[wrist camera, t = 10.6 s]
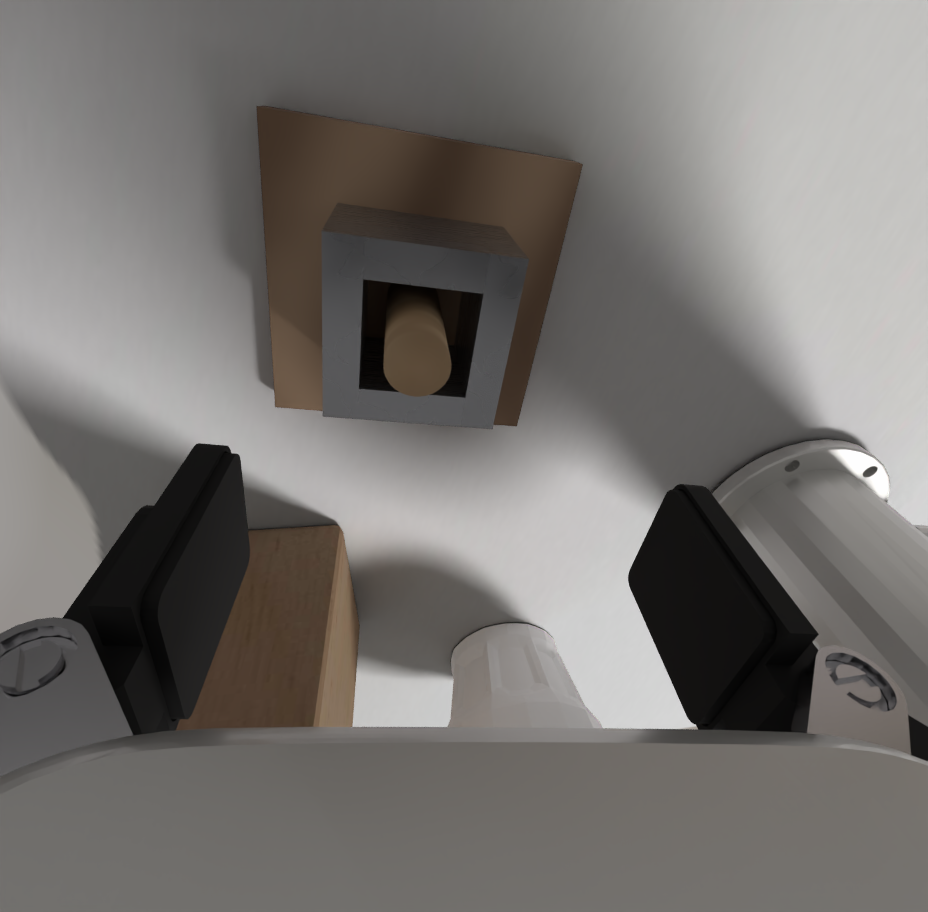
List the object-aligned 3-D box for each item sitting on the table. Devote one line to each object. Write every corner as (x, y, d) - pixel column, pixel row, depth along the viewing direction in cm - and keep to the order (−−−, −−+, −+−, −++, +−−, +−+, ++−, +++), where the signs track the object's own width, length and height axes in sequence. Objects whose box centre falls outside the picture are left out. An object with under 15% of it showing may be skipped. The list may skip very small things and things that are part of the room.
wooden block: (168, 532, 30) (-109, 1061, 13) (342, 521, 30) (280, 1003, 14) (215, 636, 35) (62, 1092, 19) (360, 624, 36) (330, 1050, 20)
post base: (573, 161, 21) (654, 191, 14) (512, 414, 27) (547, 513, 21) (263, 105, 18) (191, 112, 12) (280, 395, 25) (239, 498, 19)
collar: (503, 226, 21) (529, 259, 17) (476, 373, 24) (492, 429, 20) (337, 202, 20) (321, 230, 15) (335, 360, 23) (322, 416, 19)
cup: (569, 689, 45) (613, 839, 36) (428, 704, 43) (436, 862, 35) (590, 597, 37) (651, 756, 28) (421, 612, 36) (428, 782, 27)
